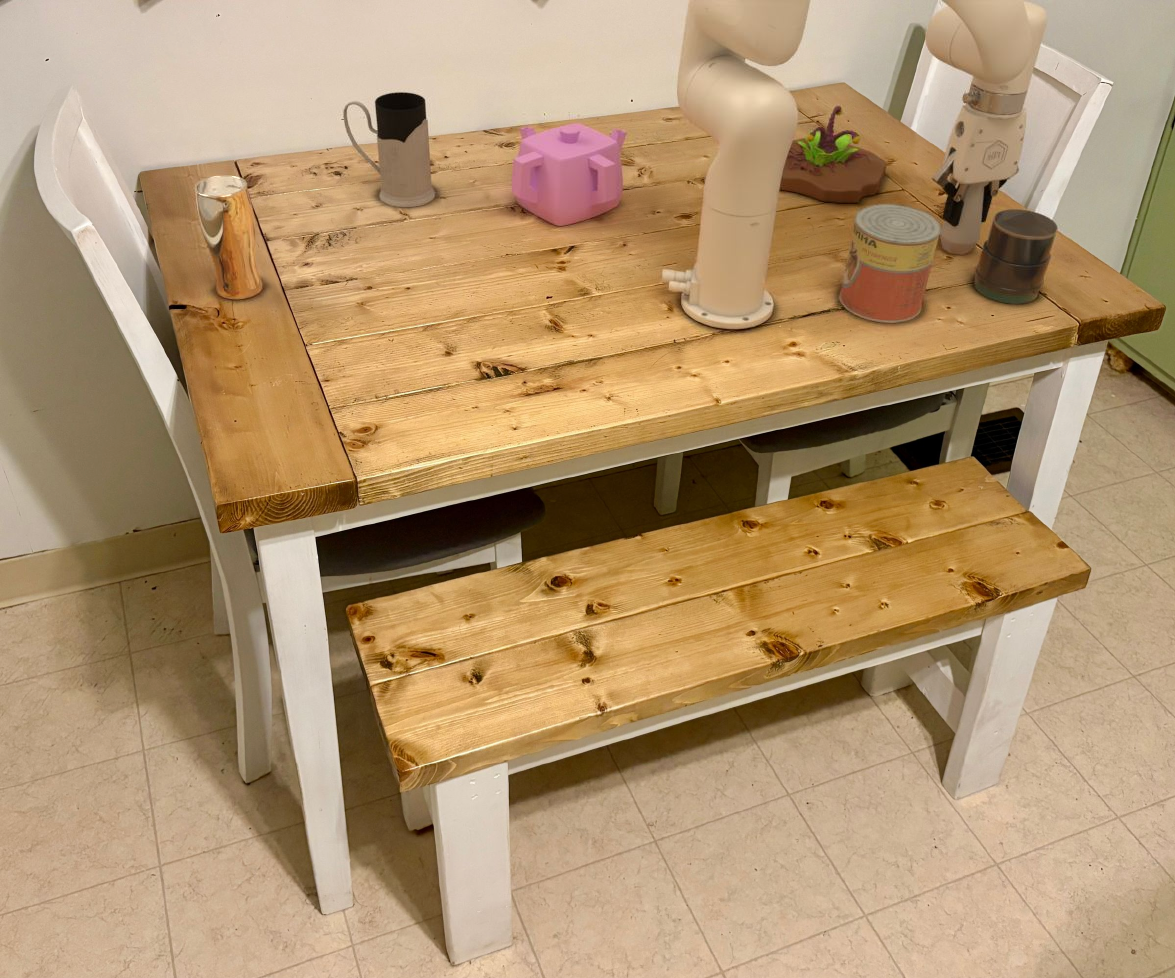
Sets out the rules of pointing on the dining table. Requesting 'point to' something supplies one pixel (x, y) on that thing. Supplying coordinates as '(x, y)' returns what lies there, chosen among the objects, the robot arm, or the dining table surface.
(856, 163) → the plant
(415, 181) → the glass holder
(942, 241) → the salt shaker
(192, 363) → the dining table surface
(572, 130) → the teakettle
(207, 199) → the beer glass
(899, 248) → the canned food
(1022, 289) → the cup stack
